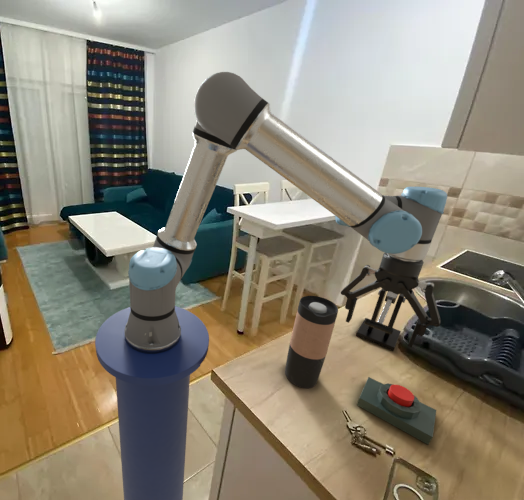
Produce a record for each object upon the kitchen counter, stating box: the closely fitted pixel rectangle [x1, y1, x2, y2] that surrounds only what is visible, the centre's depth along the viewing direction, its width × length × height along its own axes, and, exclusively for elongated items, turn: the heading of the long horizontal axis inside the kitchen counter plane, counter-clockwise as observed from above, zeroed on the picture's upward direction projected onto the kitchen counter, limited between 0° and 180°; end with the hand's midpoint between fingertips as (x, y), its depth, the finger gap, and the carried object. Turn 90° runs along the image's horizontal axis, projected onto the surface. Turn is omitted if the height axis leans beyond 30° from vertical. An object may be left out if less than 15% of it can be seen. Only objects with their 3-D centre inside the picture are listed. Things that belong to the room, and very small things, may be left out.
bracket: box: [355, 288, 407, 352], centre depth 81 cm, size 10×9×15 cm
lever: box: [364, 291, 399, 334], centre depth 76 cm, size 13×6×2 cm, turn 136°
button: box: [388, 384, 415, 407], centre depth 59 cm, size 4×4×2 cm
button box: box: [356, 376, 437, 445], centre depth 60 cm, size 12×8×4 cm, turn 46°
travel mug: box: [284, 295, 339, 389], centre depth 65 cm, size 8×8×20 cm
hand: (377, 331), depth 74 cm, fingers open, 13 cm apart
